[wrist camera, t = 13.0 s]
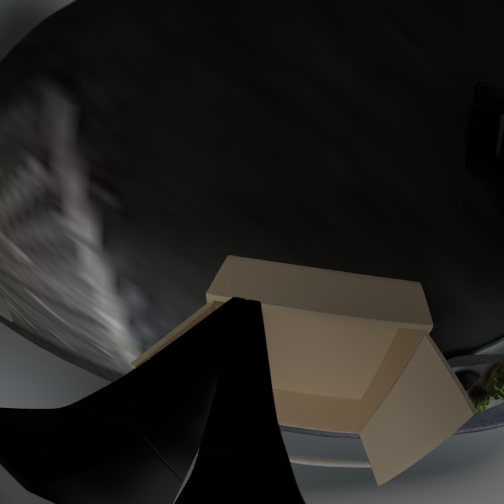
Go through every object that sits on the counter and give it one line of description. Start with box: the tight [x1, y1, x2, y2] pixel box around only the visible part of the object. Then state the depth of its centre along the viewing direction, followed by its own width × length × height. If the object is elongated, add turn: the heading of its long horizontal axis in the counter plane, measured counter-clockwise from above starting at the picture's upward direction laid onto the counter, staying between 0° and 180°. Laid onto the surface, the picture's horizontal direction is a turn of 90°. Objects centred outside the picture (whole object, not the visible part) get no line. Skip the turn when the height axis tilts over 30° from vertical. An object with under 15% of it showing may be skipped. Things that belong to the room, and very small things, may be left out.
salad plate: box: [447, 337, 504, 416], centre depth 22 cm, size 19×18×5 cm
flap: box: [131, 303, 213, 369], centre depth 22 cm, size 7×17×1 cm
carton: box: [206, 255, 434, 434], centre depth 25 cm, size 16×18×5 cm
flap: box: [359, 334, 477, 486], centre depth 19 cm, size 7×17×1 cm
